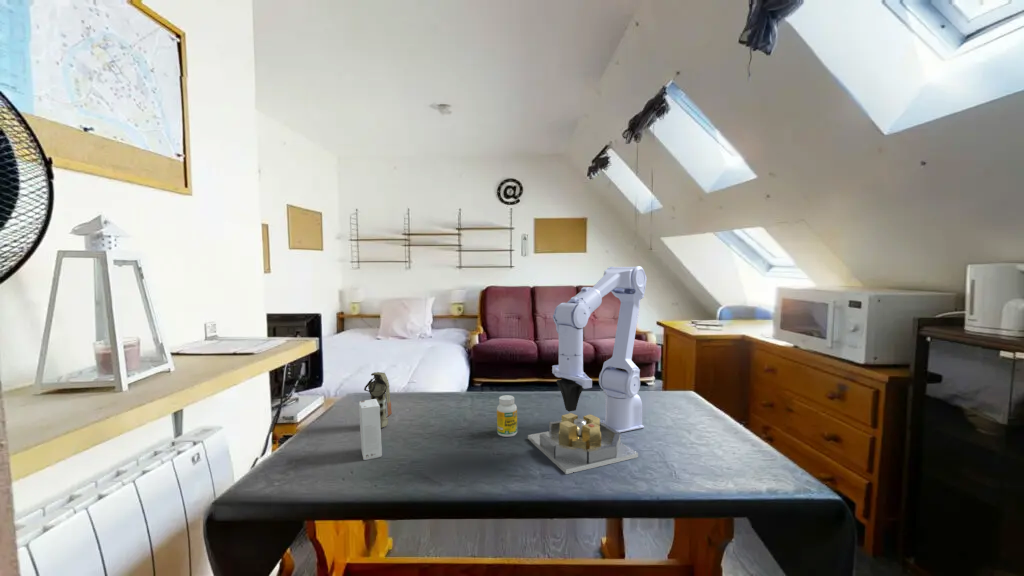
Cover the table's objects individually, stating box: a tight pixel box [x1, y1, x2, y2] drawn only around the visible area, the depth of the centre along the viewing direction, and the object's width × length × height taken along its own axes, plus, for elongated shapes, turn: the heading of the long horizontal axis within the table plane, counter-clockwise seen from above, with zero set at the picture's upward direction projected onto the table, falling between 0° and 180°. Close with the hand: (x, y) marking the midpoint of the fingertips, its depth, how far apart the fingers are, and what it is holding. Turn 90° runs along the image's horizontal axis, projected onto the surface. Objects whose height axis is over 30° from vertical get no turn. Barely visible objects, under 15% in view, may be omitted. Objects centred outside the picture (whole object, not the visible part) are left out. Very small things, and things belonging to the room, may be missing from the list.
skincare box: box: [358, 398, 383, 461], centre depth 93 cm, size 6×4×12 cm
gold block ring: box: [559, 412, 601, 449], centre depth 95 cm, size 10×10×6 cm
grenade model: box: [363, 371, 393, 429], centre depth 108 cm, size 6×7×15 cm
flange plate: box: [527, 418, 639, 475], centre depth 95 cm, size 19×19×7 cm
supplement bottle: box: [496, 394, 518, 438], centre depth 104 cm, size 5×5×10 cm
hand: (570, 410), depth 94 cm, fingers closed
